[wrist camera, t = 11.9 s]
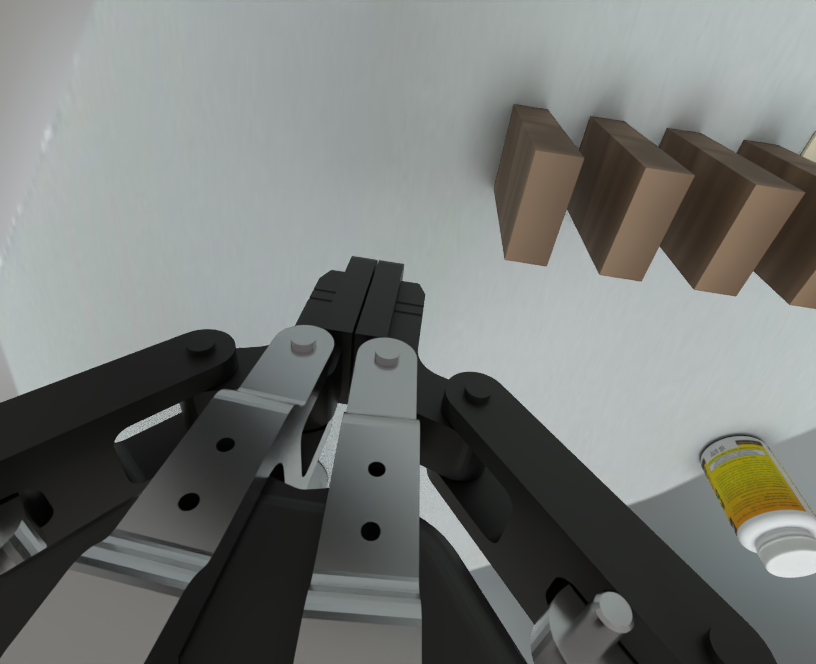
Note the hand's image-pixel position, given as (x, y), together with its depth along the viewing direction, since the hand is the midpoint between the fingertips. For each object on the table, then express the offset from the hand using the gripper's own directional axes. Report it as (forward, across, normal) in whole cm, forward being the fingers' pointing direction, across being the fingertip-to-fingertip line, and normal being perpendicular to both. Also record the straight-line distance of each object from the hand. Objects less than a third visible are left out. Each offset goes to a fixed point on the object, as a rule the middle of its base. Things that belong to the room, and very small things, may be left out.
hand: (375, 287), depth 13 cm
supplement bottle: (+18, -32, +23) cm, 44 cm away
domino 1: (+18, -6, 0) cm, 19 cm away
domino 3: (+18, -15, 0) cm, 24 cm away
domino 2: (+18, -10, 0) cm, 21 cm away
